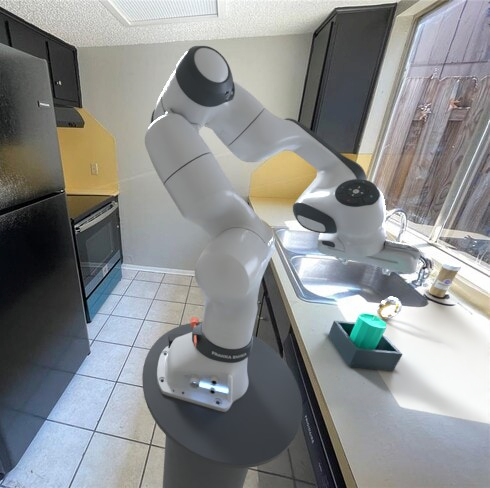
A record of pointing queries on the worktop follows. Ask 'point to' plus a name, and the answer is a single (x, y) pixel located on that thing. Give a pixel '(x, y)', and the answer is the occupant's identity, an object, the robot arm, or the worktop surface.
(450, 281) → the sprinkles bottle
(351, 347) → the bin
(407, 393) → the worktop surface
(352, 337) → the candle
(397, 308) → the ring
